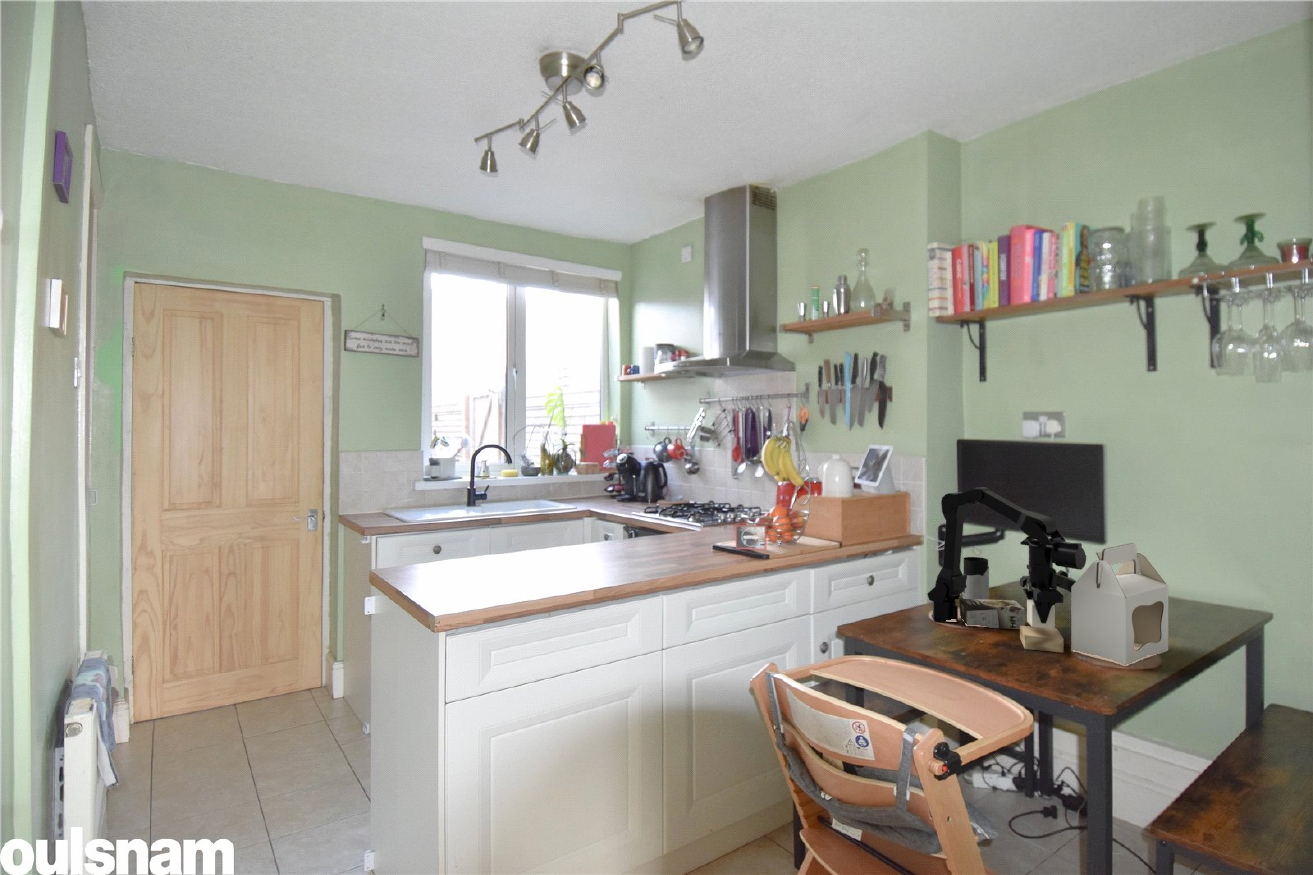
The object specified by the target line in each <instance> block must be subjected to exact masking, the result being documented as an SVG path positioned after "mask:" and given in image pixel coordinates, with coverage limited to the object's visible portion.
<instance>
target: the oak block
mask: <svg viewBox="0 0 1313 875" xmlns="http://www.w3.org/2000/svg"><path fill="white" fill-rule="evenodd" d="M1019 639H1020V641H1021V644H1022V646H1023V648H1024V649H1025V650H1032V651H1033V650H1034V651H1035V650H1036V651H1042V652H1043V651H1045V652H1054V653H1064V645H1065V644H1064V637H1063V635H1062V634H1061V632H1060V631H1059V629H1057V628H1056V627H1055V628H1042V627H1032V626H1031V625H1030V626H1029V625H1027V626H1026V625H1025V626H1020V629H1019Z"/></svg>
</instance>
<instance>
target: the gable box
mask: <svg viewBox="0 0 1313 875" xmlns="http://www.w3.org/2000/svg"><path fill="white" fill-rule="evenodd" d="M1137 550H1138V549H1137V544H1136V543H1135V542H1131V543H1126V544H1120V545H1116V546H1115V545H1114V546H1111V547H1106V548H1103V549H1102V551H1097V552H1095V554H1096V556H1097V558H1098V560H1094V561H1093V562H1092V563H1091V564H1090V565H1089V566H1088V568H1087V569H1086V570H1085V571H1084V572H1083V573H1082V574H1081V576H1079V578H1078V579H1076V580H1075V581H1076V582H1075V583H1074V585H1073V586H1071V592H1070V604H1071V605H1070V606H1071V607H1070V618H1071V619H1070V622H1071V623H1070V627H1071V628H1070V633H1071V634H1070V636H1071V637H1070V639H1071V640H1070V644H1071V645H1070V646H1071V647H1070V648H1071V649H1070V651H1071V652H1072V651H1073V650H1075V651H1080V652H1083V653H1087V654H1091V655H1098V656H1101V657H1103V658H1107V659H1112V660H1114V661H1117V662H1119V663H1121V664H1124V665H1127V664H1130V663H1132V662H1134V661H1136V660H1138V659H1141V658H1143V657H1146V656H1147V655H1154V654H1158V655H1160V654H1163V653H1166V652H1167V651H1169V585H1168V584H1167V583H1166V581H1165V580H1164V579H1163V578H1162V577H1161V576H1162V575H1160V574H1159V572H1158V571H1157V570H1156V569H1155V567H1154V566H1153V565H1152V563H1151V562H1150V561H1149V559H1148V558H1147V557H1146V556H1145V555H1144V554H1142V553H1141V552H1140V553H1138V551H1137ZM1118 564H1121V566H1120V567H1119V569H1118V570H1117V572H1116V574H1115V572H1114V570H1113V568H1112V566H1113V565H1118ZM1134 646H1135V647H1140V648H1139V649H1138V650H1135V649H1134Z"/></svg>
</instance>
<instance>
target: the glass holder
mask: <svg viewBox="0 0 1313 875" xmlns="http://www.w3.org/2000/svg"><path fill="white" fill-rule="evenodd" d="M962 562H963V573H962V574H963V575H967V580H966V586H967V588H965V589H964V592H963V593H961V594H960V595H961V599H982V600H990V566H989V559H988V558H984V557H981V556H980V557H979V556H967V557H966V556H965V557H963V561H962Z"/></svg>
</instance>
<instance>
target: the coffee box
mask: <svg viewBox="0 0 1313 875" xmlns="http://www.w3.org/2000/svg"><path fill="white" fill-rule="evenodd" d="M958 603H959V617H960V616H961V618H962V619H963V620H964V622H965V623H966V624H967V625H980V626H986V627H989V628H991V629H1006V630H1007V629H1010V630H1020V626H1026V608H1024V607H1023V606H1022V605H1021V604H1020V603H1019V602H1018V601H1016V600H1009V599H1006V600H1005V599H1004V600H1003V599H989V600H982V599H963V598H959V602H958ZM964 622H963V623H964Z"/></svg>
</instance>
